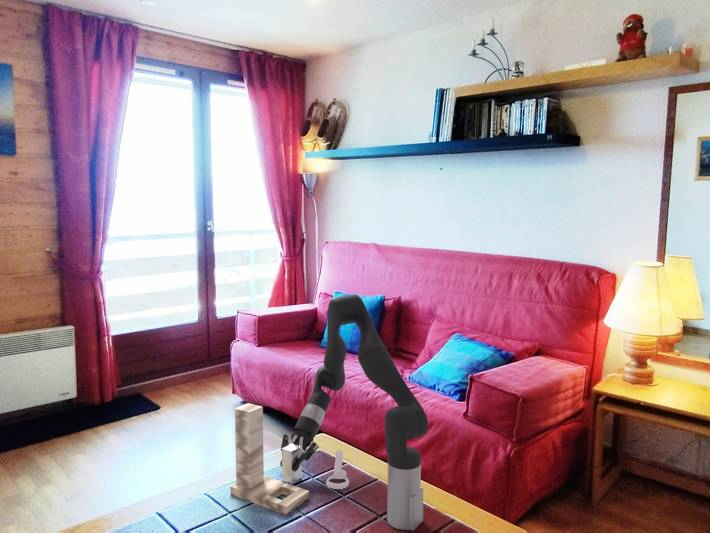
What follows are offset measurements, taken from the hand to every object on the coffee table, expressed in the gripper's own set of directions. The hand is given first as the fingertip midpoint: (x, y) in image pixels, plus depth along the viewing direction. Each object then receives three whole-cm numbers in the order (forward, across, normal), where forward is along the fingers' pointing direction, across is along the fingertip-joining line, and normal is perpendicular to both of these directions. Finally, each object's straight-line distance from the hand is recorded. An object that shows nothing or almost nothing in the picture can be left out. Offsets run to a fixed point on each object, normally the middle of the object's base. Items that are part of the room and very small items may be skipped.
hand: (287, 468), depth 178 cm
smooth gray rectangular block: (+2, 0, +5) cm, 5 cm away
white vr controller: (-2, +14, +9) cm, 17 cm away
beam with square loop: (+10, +1, -4) cm, 11 cm away
